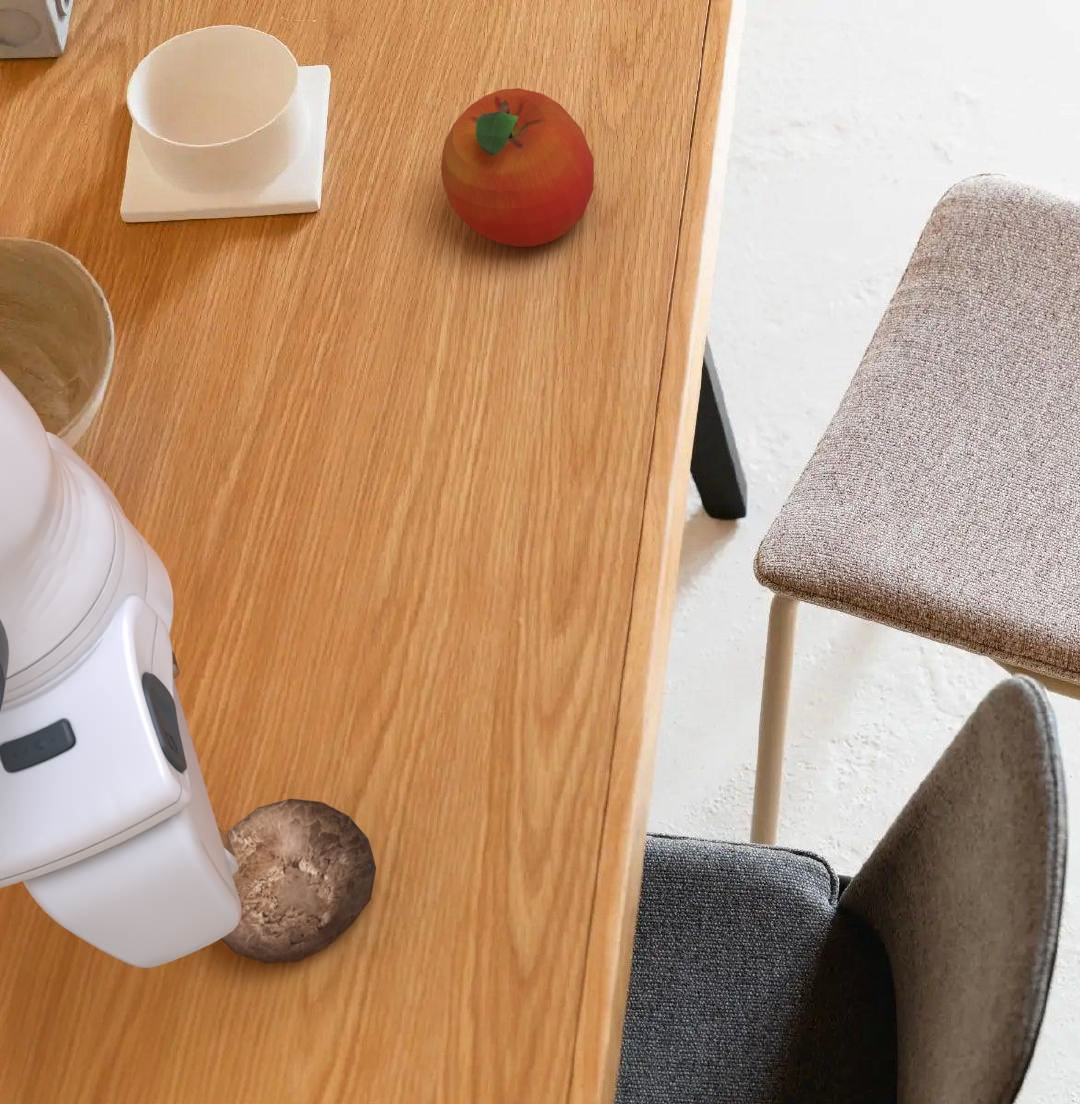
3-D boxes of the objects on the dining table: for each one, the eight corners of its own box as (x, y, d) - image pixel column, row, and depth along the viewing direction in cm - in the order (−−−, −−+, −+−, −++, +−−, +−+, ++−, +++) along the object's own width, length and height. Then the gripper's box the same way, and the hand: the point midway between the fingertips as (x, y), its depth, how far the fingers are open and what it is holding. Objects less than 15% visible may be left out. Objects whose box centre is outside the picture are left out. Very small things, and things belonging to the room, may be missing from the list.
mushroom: (192, 802, 74) (201, 816, 68) (357, 781, 78) (378, 792, 72) (204, 962, 74) (214, 988, 68) (368, 933, 77) (390, 956, 72)
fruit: (615, 165, 99) (592, 48, 90) (589, 276, 94) (562, 164, 86) (476, 156, 100) (440, 39, 91) (444, 265, 95) (402, 153, 86)
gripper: (-129, 411, 52) (56, 593, 64) (-24, 927, 43) (169, 1026, 55) (49, 347, 53) (198, 537, 66) (189, 834, 44) (332, 950, 56)
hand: (186, 764), depth 60 cm, fingers open, 8 cm apart
